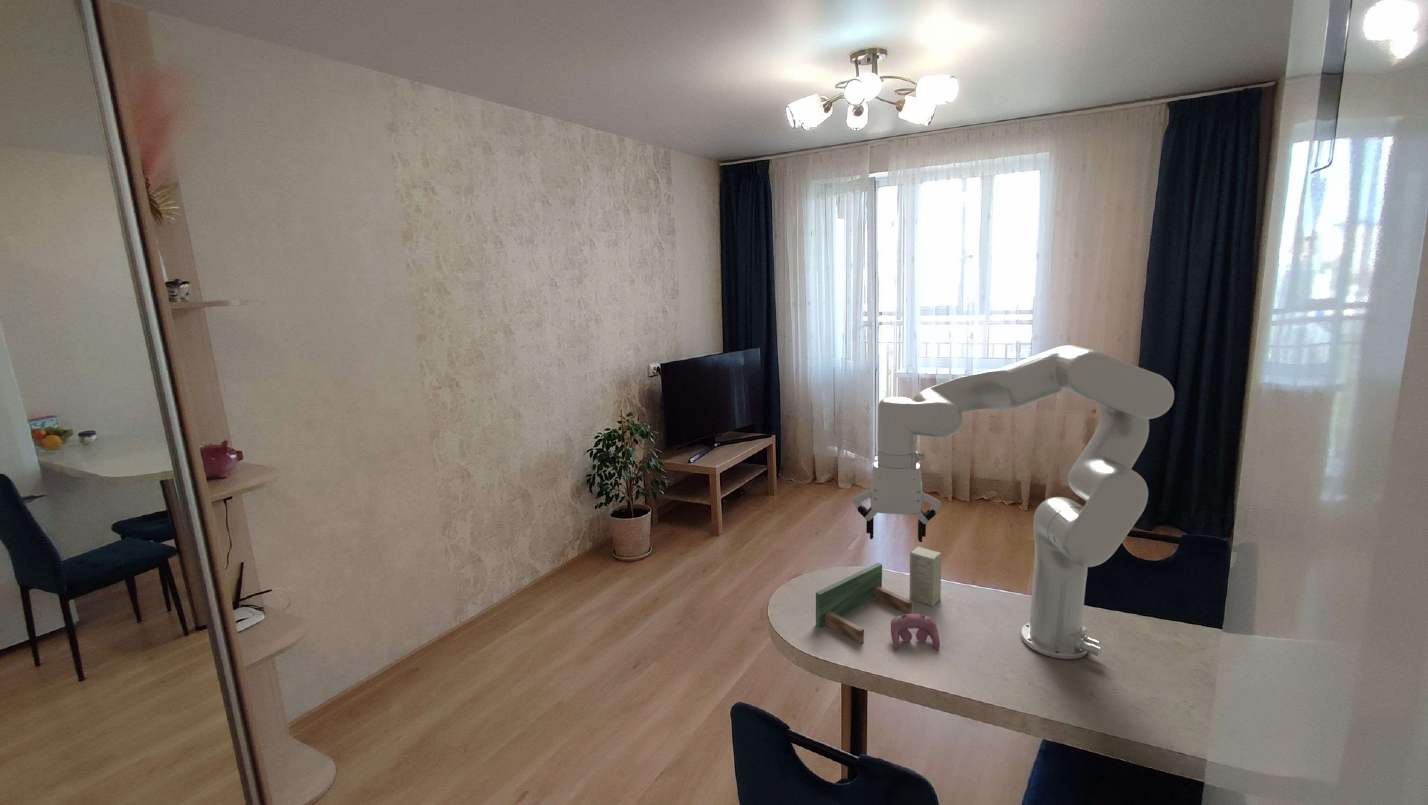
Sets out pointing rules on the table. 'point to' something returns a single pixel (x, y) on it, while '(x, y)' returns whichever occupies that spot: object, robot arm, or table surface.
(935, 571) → the skincare box
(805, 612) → the table surface
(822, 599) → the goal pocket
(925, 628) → the video game controller
